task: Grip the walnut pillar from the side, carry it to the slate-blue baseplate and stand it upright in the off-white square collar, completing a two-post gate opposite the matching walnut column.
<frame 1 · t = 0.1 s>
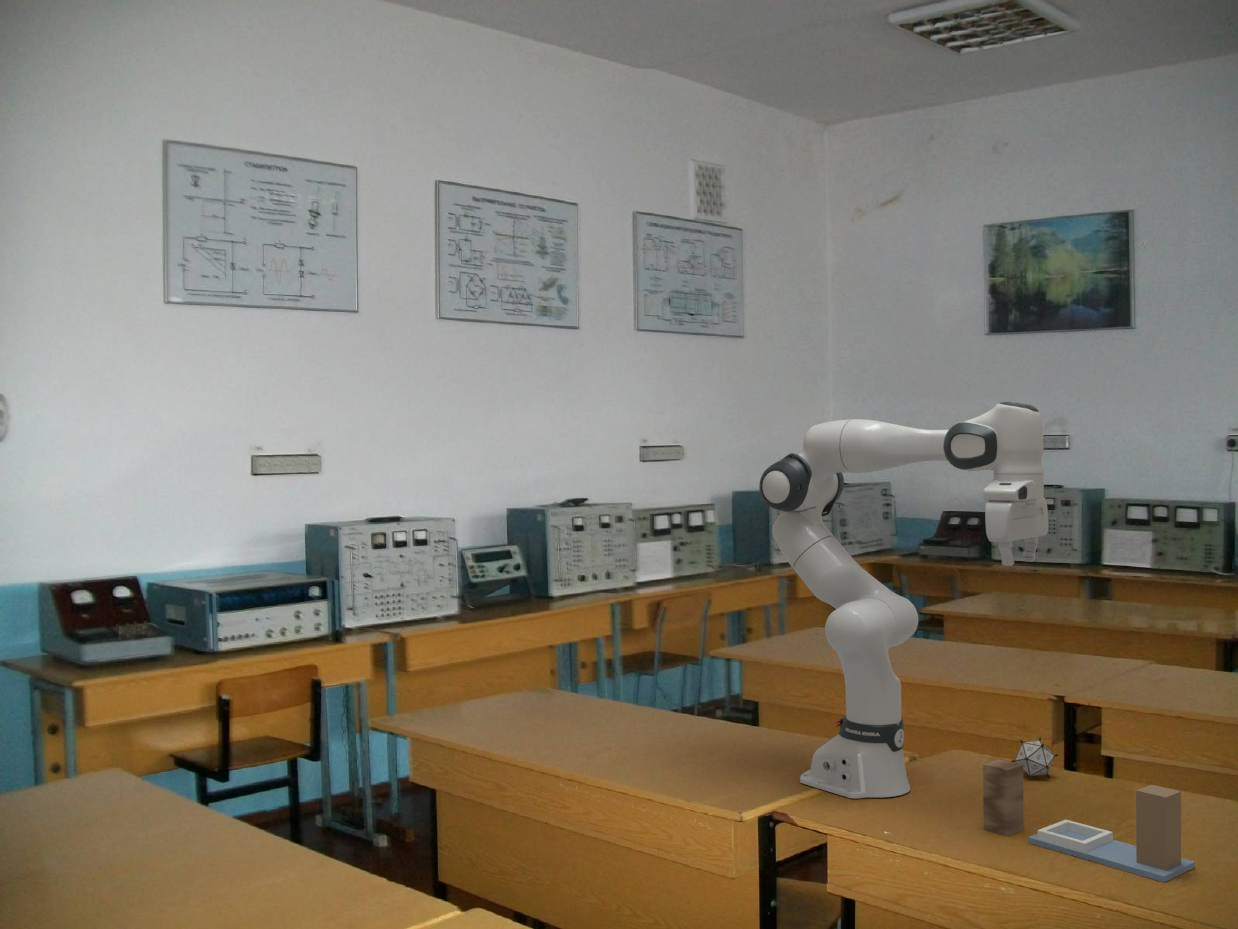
hand: (1018, 563, 222), 48 cm above the table, fingers open, 8 cm apart
pillar: (1003, 830, 217), on the table
baseplate: (1075, 845, 209), on the table
game die: (1034, 778, 250), on the table
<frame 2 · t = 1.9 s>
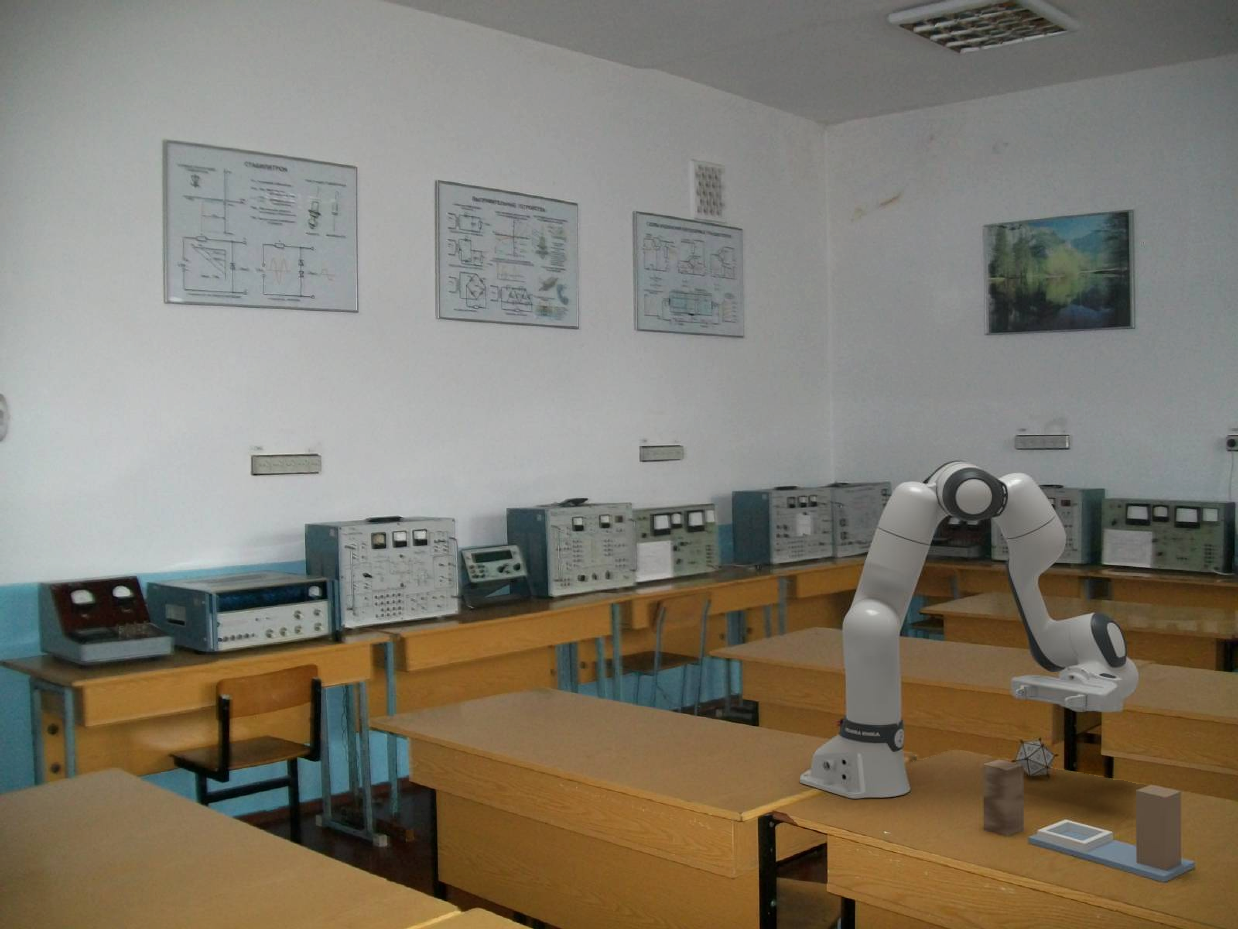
hand: (1040, 699, 224), 22 cm above the table, fingers open, 8 cm apart
nothing on the table moved.
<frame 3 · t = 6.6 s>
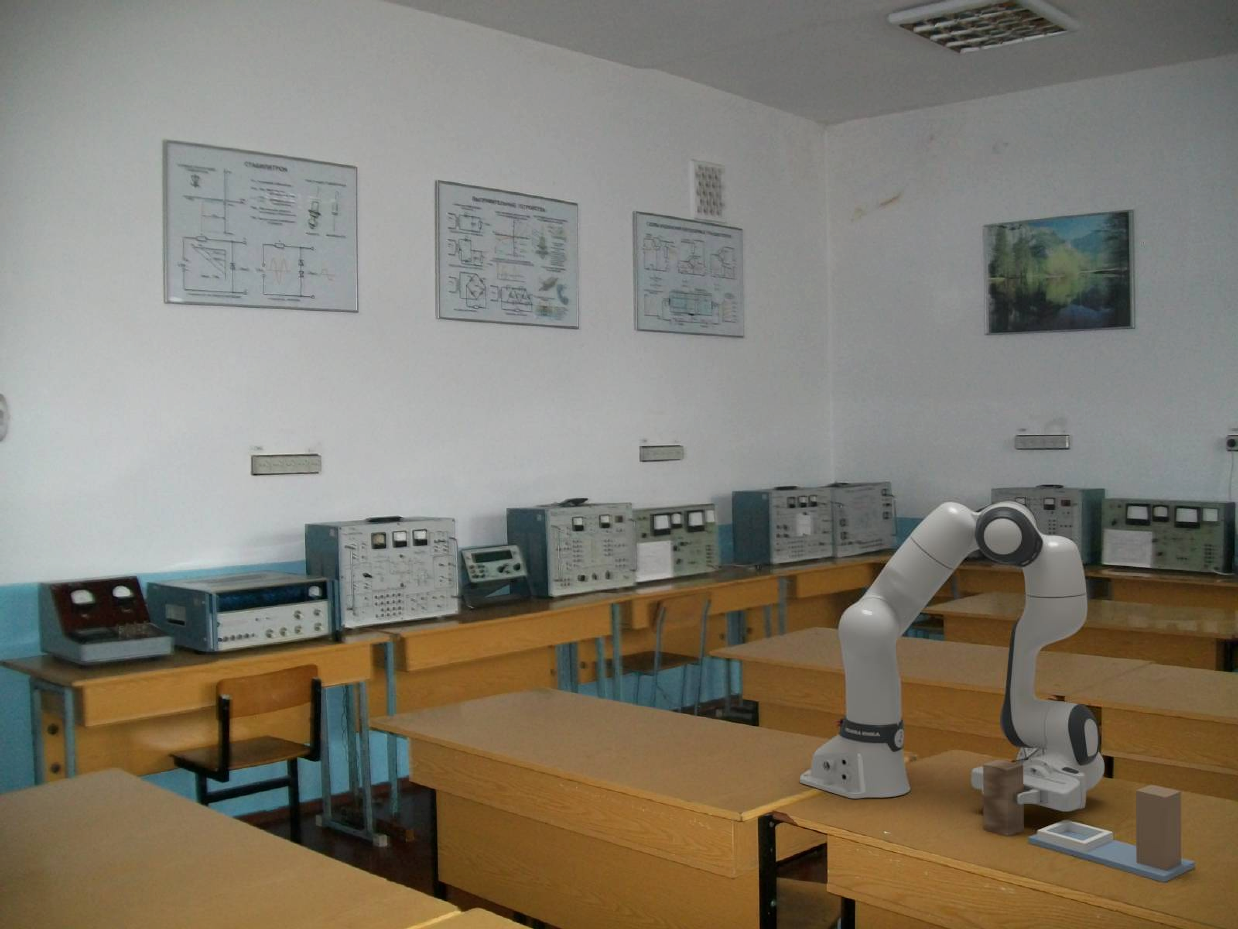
hand: (1000, 795, 217), 7 cm above the table, fingers closed on pillar, 5 cm apart
pillar: (1003, 830, 217), on the table, touching gripper
everything else where it was.
when the fingers open (9 cm above the table, at t = 13.4 s): pillar drops 1 cm, resting on baseplate.
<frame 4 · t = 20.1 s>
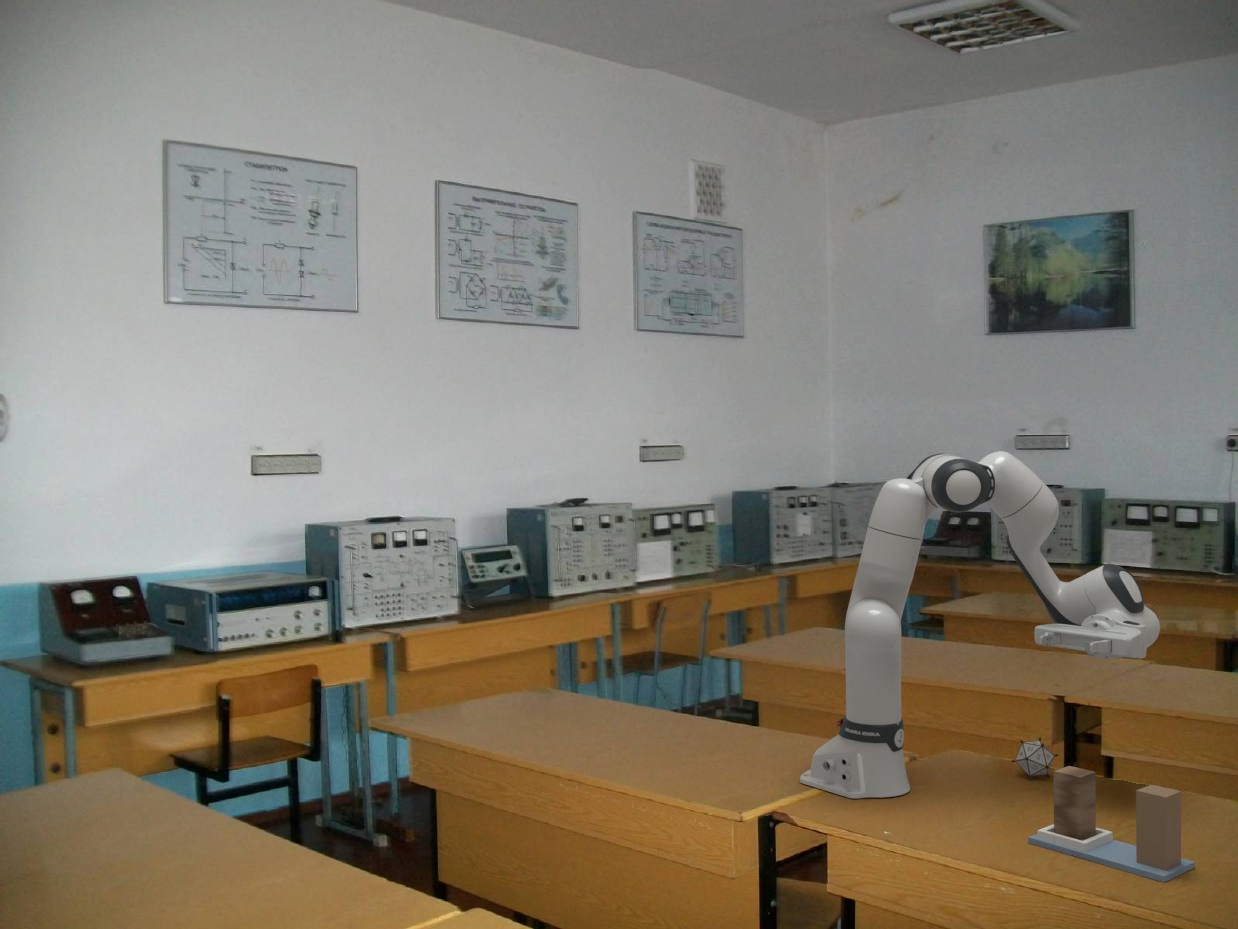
hand: (1065, 644, 226), 32 cm above the table, fingers open, 8 cm apart
pillar: (1074, 839, 209), point 1 cm above the table, touching baseplate
everything else where it was.
at the end: pillar 0.0 cm from the target spot, point 1.0 cm above the table; pillar tilted 0°; the gripper is holding nothing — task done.
